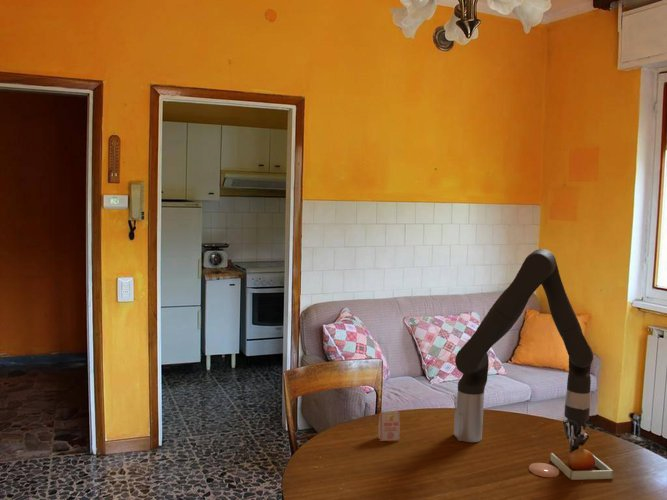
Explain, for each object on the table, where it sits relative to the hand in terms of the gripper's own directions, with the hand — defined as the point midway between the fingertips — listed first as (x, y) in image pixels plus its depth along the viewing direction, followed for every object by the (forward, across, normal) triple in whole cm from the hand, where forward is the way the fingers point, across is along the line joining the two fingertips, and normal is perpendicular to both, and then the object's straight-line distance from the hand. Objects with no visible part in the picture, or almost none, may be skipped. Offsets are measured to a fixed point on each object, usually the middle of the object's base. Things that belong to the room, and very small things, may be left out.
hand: (573, 455), depth 201 cm
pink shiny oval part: (+2, +5, -13) cm, 14 cm away
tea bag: (+3, -22, -57) cm, 61 cm away
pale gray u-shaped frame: (+2, +5, 0) cm, 5 cm away
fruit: (+3, +6, -1) cm, 7 cm away
